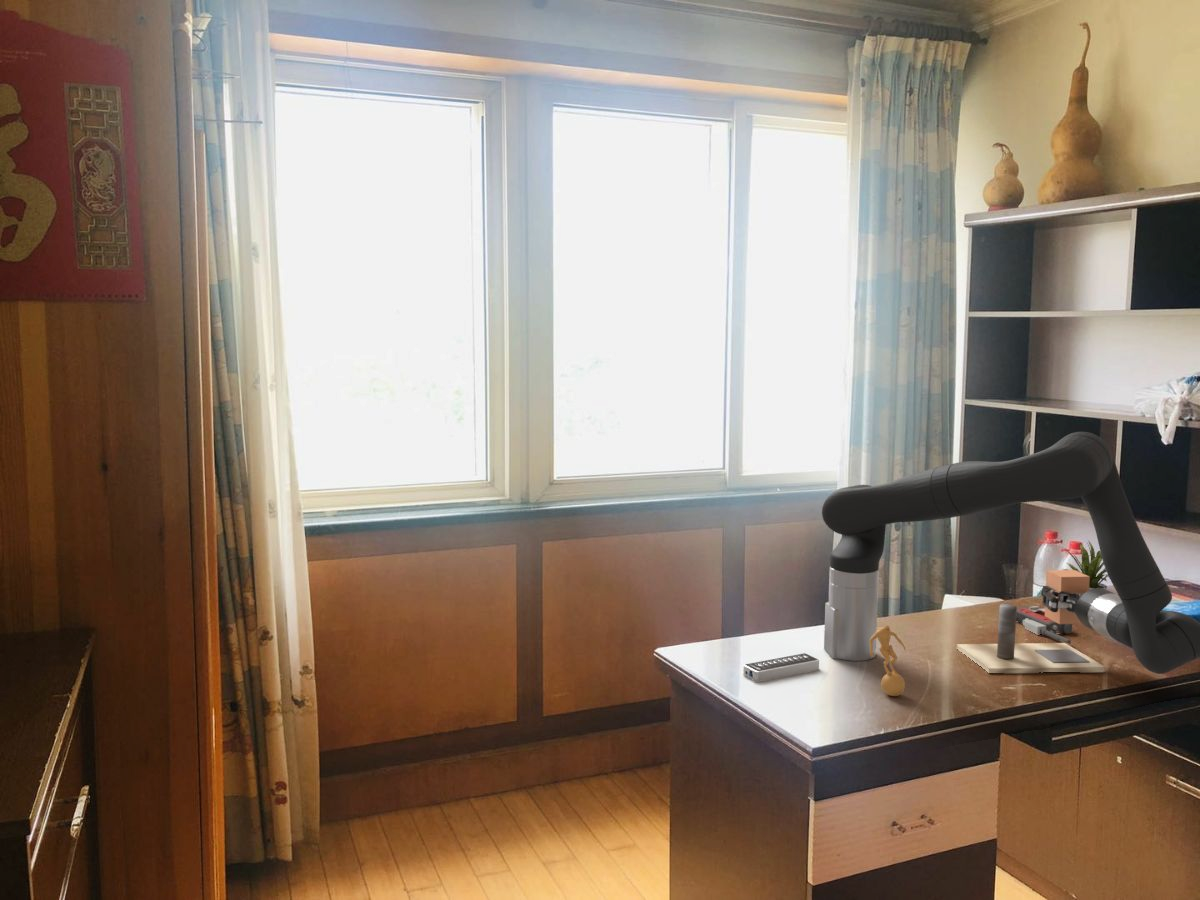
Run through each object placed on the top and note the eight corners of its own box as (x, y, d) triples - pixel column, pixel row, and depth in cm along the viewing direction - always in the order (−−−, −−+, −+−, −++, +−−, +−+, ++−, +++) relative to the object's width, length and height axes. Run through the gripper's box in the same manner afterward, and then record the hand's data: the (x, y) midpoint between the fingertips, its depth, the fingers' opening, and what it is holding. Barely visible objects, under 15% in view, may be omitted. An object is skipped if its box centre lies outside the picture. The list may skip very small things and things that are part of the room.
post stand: (988, 673, 175) (991, 615, 173) (956, 649, 188) (959, 595, 187) (1104, 672, 175) (1108, 614, 174) (1064, 647, 189) (1067, 594, 188)
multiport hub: (819, 671, 177) (820, 659, 176) (756, 684, 170) (757, 671, 170) (804, 664, 181) (805, 652, 180) (742, 676, 174) (742, 664, 174)
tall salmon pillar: (1059, 624, 177) (1061, 577, 176) (1044, 616, 183) (1046, 570, 182) (1087, 623, 177) (1089, 576, 176) (1072, 615, 183) (1074, 569, 182)
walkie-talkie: (998, 620, 209) (1064, 649, 190) (999, 601, 208) (1066, 628, 189) (1032, 617, 211) (1101, 645, 192) (1033, 598, 211) (1102, 624, 191)
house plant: (1144, 618, 210) (1150, 546, 208) (1097, 624, 205) (1102, 550, 203) (1091, 601, 223) (1096, 533, 221) (1046, 607, 218) (1050, 537, 216)
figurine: (884, 703, 160) (887, 635, 159) (858, 692, 165) (860, 625, 164) (918, 694, 164) (921, 627, 163) (891, 683, 169) (894, 618, 168)
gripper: (1151, 593, 165) (1096, 570, 182) (1071, 594, 165) (1023, 572, 181) (1149, 635, 166) (1094, 609, 183) (1069, 636, 165) (1022, 610, 182)
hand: (1059, 590), depth 182 cm, fingers closed on tall salmon pillar, 5 cm apart
